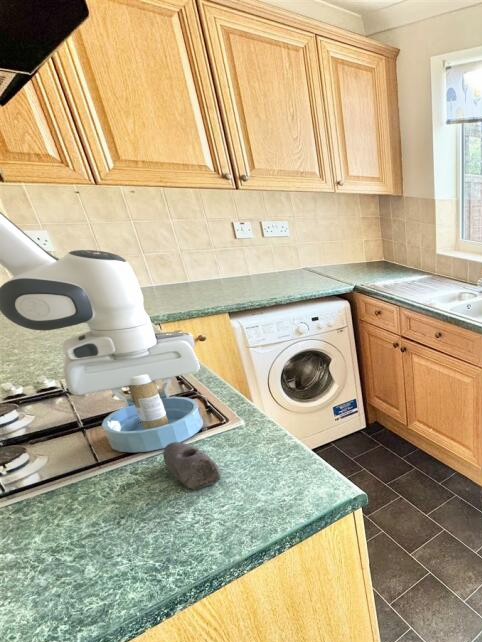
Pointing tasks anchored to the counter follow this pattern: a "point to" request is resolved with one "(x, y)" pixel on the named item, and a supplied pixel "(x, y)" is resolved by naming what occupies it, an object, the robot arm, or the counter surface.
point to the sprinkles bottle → (148, 402)
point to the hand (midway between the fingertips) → (147, 401)
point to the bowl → (134, 438)
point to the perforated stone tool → (191, 465)
